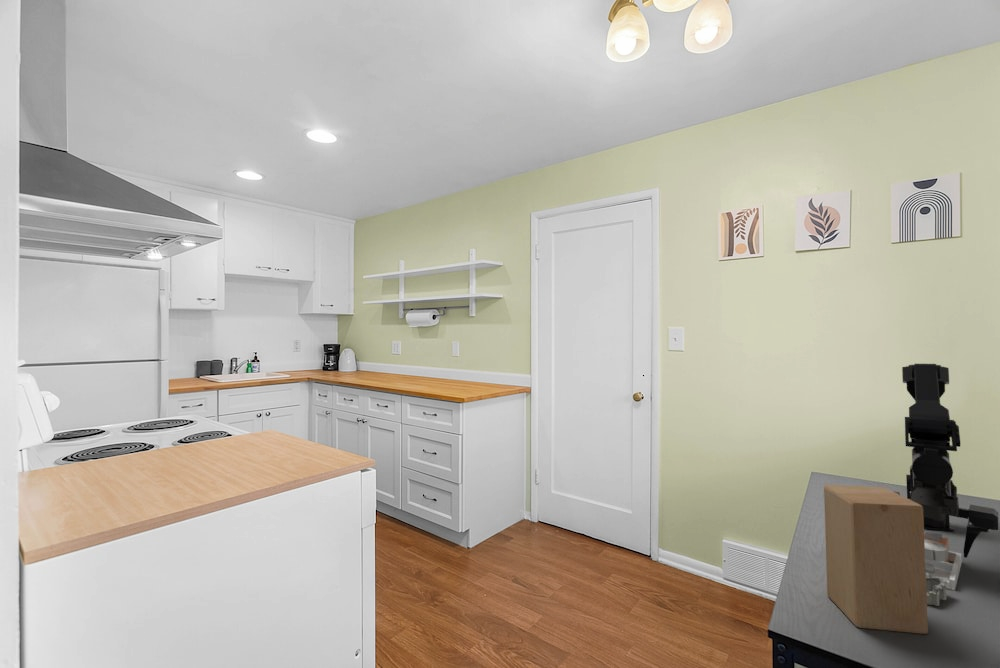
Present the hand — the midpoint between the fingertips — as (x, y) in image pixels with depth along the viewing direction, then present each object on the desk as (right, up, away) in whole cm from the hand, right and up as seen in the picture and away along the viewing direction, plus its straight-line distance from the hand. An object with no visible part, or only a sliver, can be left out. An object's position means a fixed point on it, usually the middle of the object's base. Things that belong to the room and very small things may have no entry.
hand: (933, 549), depth 96 cm
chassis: (-3, -3, -3) cm, 5 cm away
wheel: (-6, +2, -6) cm, 8 cm away
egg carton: (-15, -3, -10) cm, 18 cm away
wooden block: (-27, -3, -18) cm, 32 cm away
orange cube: (0, -3, 0) cm, 3 cm away
